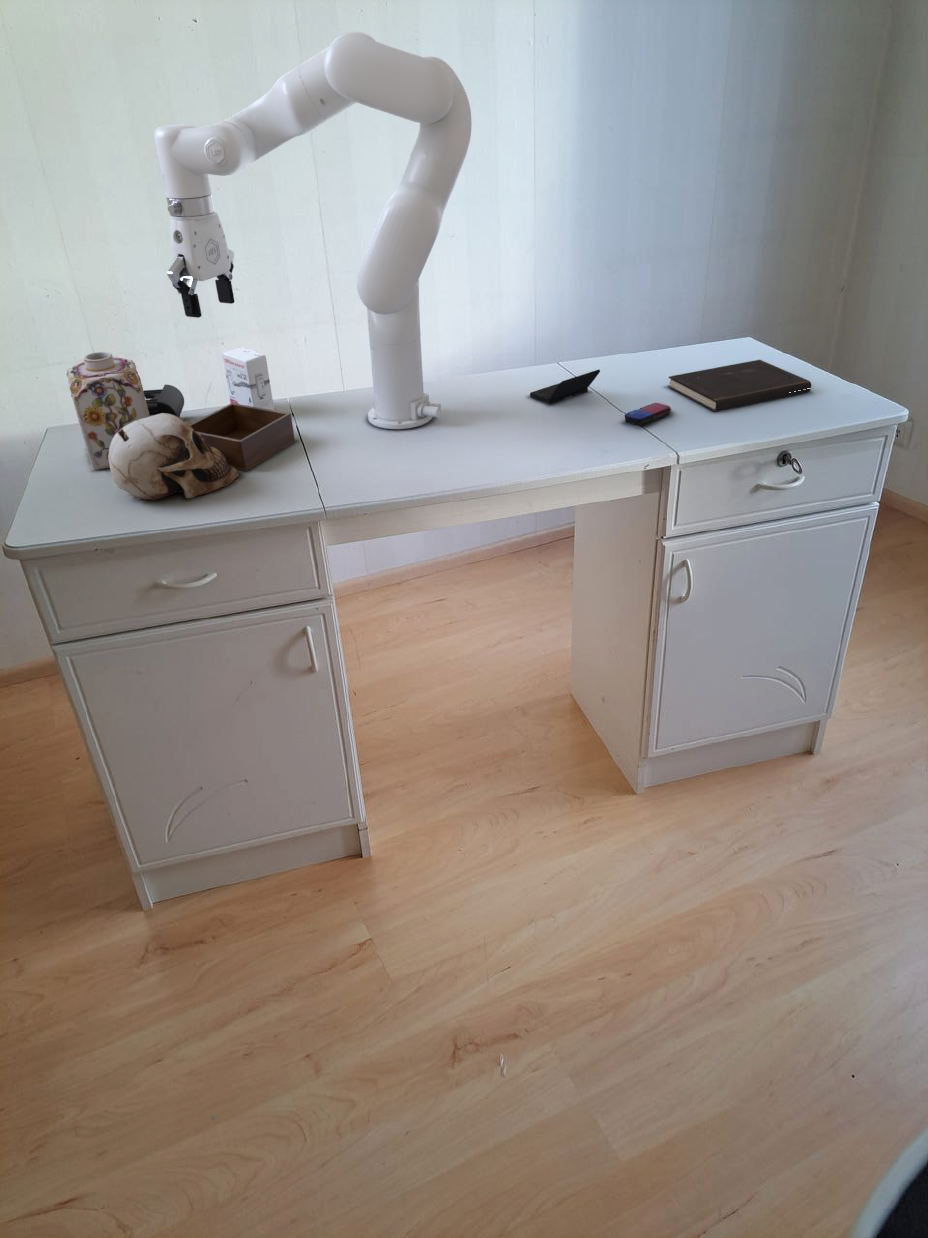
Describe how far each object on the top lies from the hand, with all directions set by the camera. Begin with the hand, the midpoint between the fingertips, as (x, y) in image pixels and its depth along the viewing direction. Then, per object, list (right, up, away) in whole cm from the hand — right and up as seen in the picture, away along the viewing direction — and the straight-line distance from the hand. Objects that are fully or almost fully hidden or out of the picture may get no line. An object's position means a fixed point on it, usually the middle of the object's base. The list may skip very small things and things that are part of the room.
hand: (210, 309), depth 158 cm
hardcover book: (+102, -10, +18) cm, 104 cm away
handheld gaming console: (+67, -12, +17) cm, 70 cm away
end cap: (-12, -19, +10) cm, 25 cm away
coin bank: (-1, -34, -12) cm, 37 cm away
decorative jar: (-16, -27, 0) cm, 31 cm away
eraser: (+81, -19, +6) cm, 84 cm away
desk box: (+6, -26, 0) cm, 26 cm away
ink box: (+4, -15, +15) cm, 22 cm away
